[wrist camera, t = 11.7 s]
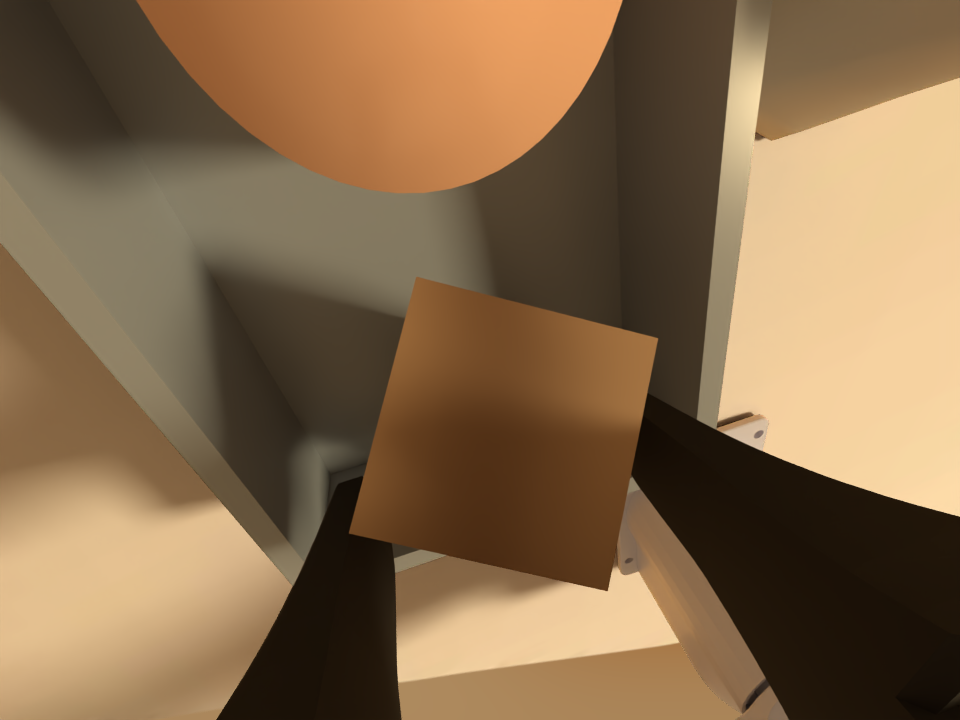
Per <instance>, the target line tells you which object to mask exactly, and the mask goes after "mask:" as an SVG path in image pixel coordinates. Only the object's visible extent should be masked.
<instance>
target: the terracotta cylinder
mask: <svg viewBox="0 0 960 720" xmlns="http://www.w3.org/2000/svg"><path fill="white" fill-rule="evenodd" d="M136 1H137V2H138V4H139V5H140V7H141V9H142V10H143V12H144V13H145V15H146V16H147V18H148V20H149V21H150V23H151V24H152V26H153V27H154V29H155V30H156V32H157V34H158V35H159V37H160V38H161V39H162V41H163V42H164V43H165V44H166V46H167V47H168V48H169V50H170V51H171V52H172V53H173V55H174V56H175V57H176V59H177V60H178V61H179V62H180V64H181V65H182V66H183V67H184V69H185V70H186V71H187V73H188V74H189V75H190V76H191V77H192V78H193V79H194V80H195V81H196V83H197V84H198V85H199V86H200V87H201V88H202V89H203V90H204V91H205V92H206V93H207V94H208V95H209V96H210V97H211V98H212V99H213V100H214V102H215V103H216V104H217V105H218V106H219V107H220V108H222V109H223V110H224V111H225V112H226V113H227V114H228V115H230V116H231V117H232V118H233V119H234V120H235V121H237V122H238V123H239V124H240V125H241V126H242V127H243V128H245V129H246V130H247V131H248V132H249V133H251V134H252V135H253V136H255V137H256V138H258V139H259V140H261V141H262V142H264V143H265V144H266V145H268V146H269V147H271V148H272V149H274V150H275V151H276V152H278V153H279V154H281V155H283V156H285V157H286V158H288V159H290V160H292V161H294V162H296V163H297V164H299V165H301V166H303V167H305V168H307V169H309V170H310V171H313V172H315V173H318V174H320V175H323V176H325V177H328V178H330V179H333V180H335V181H338V182H341V183H345V184H348V185H352V186H356V187H360V188H364V189H368V190H374V191H382V192H390V193H427V192H434V191H440V190H447V189H452V188H455V187H458V186H462V185H465V184H468V183H472V182H475V181H477V180H479V179H481V178H484V177H486V176H488V175H490V174H492V173H495V172H497V171H499V170H500V169H502V168H504V167H505V166H507V165H508V164H510V163H511V162H513V161H515V160H516V159H518V158H519V157H521V156H522V155H523V154H525V153H526V152H527V151H528V150H529V149H531V148H532V147H533V146H534V145H535V144H537V143H538V142H539V141H540V140H541V139H543V138H544V136H545V135H546V134H547V133H548V132H549V131H550V130H551V129H552V128H553V127H554V126H555V125H556V124H557V123H558V122H559V120H560V119H561V118H562V117H563V116H564V114H565V113H566V112H567V110H568V109H569V108H570V106H571V105H572V104H573V102H574V101H575V100H576V98H577V97H578V96H579V94H580V93H581V91H582V89H583V88H584V86H585V84H586V83H587V81H588V79H589V77H590V76H591V74H592V72H593V71H594V69H595V67H596V66H597V63H598V61H599V59H600V57H601V55H602V52H603V50H604V48H605V46H606V44H607V42H608V39H609V37H610V35H611V32H612V30H613V27H614V24H615V21H616V18H617V15H618V12H619V9H620V6H621V3H622V1H623V0H136Z"/></svg>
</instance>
